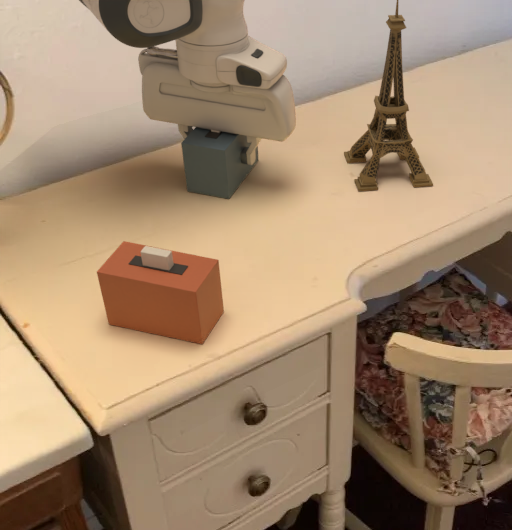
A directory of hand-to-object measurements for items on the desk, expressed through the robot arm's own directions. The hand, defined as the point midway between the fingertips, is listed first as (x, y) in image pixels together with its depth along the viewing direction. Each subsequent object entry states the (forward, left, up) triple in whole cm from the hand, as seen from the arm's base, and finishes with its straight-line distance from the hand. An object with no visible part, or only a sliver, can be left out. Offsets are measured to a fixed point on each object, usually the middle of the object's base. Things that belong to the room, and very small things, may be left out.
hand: (223, 158), depth 113 cm
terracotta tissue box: (+6, -31, -3) cm, 32 cm away
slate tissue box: (0, 0, -3) cm, 3 cm away
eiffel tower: (+21, +9, -3) cm, 23 cm away
